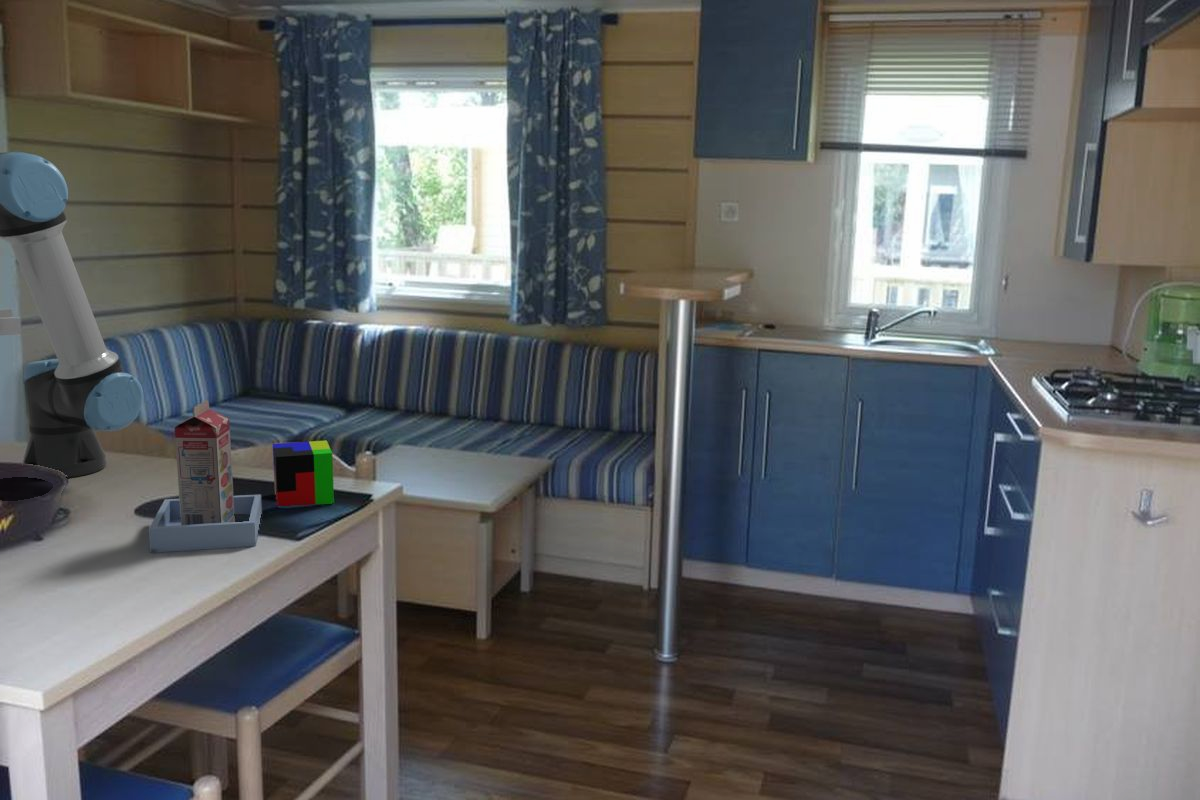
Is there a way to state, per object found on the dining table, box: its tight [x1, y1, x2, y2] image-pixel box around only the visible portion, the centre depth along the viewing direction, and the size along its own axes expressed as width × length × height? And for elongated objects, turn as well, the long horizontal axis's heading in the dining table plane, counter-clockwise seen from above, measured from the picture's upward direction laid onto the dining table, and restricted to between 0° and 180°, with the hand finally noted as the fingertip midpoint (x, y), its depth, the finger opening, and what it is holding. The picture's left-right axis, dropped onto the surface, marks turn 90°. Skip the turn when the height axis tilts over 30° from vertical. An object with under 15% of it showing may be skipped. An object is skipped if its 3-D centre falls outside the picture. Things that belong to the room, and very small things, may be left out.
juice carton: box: [174, 399, 235, 525], centre depth 167 cm, size 7×7×22 cm
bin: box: [148, 494, 263, 554], centre depth 169 cm, size 16×16×4 cm
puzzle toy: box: [272, 439, 335, 507], centre depth 188 cm, size 10×10×10 cm
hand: (16, 320), depth 167 cm, fingers open, 13 cm apart
